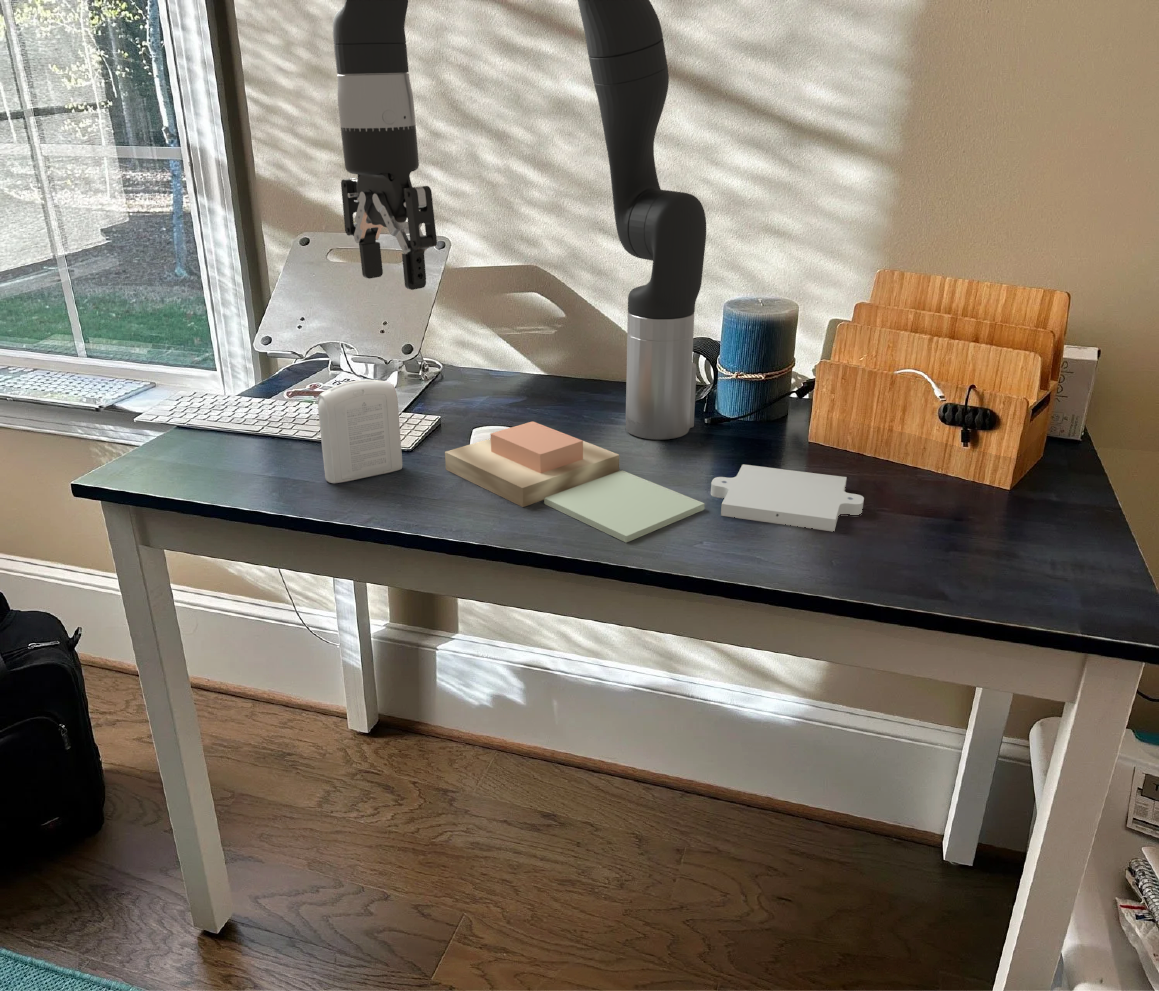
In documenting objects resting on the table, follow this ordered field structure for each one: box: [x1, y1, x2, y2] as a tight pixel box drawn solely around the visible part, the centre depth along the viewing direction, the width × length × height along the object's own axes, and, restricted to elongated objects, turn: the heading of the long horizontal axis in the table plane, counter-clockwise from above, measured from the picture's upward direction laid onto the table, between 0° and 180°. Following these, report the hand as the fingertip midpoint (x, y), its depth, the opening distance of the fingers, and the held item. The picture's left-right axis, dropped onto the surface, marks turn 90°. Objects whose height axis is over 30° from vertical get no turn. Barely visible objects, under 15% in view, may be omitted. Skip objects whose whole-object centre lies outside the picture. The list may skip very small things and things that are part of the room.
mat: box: [543, 469, 706, 543], centre depth 114 cm, size 13×14×1 cm
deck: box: [444, 424, 620, 508], centre depth 124 cm, size 16×16×2 cm
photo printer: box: [317, 379, 403, 484], centre depth 121 cm, size 10×4×12 cm, turn 123°
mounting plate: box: [710, 464, 865, 532], centre depth 115 cm, size 18×13×2 cm
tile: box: [490, 421, 584, 473], centre depth 122 cm, size 7×10×2 cm
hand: (393, 282), depth 103 cm, fingers open, 8 cm apart
